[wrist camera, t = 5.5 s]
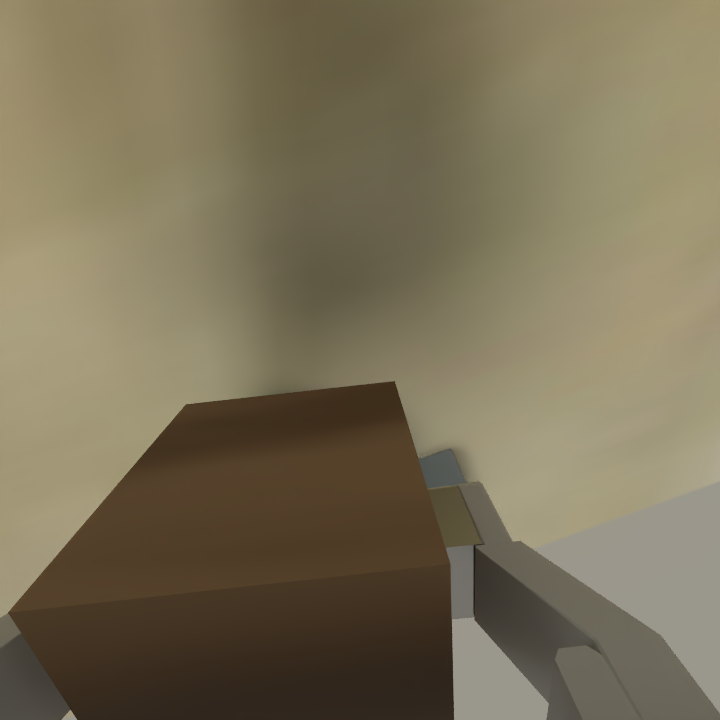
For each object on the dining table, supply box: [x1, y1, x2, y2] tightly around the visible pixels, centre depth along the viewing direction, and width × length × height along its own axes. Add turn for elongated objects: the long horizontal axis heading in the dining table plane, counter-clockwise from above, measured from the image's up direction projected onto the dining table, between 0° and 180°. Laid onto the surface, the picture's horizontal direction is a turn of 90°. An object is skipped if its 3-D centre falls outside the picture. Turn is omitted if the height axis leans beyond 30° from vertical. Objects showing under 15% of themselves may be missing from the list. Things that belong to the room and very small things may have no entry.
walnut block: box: [8, 381, 454, 720], centre depth 7 cm, size 5×5×5 cm
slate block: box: [419, 449, 466, 488], centre depth 28 cm, size 5×5×5 cm
